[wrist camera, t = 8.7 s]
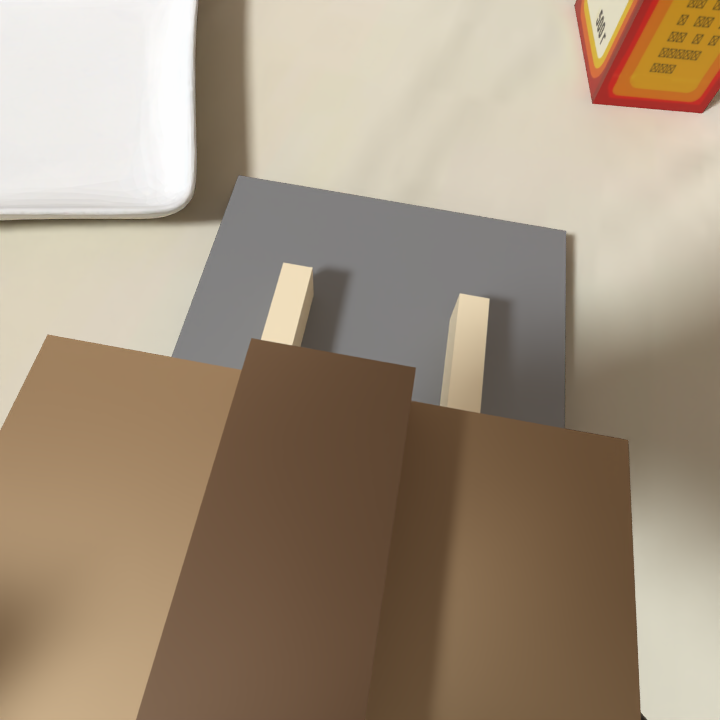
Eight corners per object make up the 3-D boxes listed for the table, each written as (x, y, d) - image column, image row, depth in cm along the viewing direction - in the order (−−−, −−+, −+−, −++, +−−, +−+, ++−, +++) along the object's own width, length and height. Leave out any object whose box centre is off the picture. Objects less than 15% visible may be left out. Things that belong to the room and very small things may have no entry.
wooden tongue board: (387, 749, 12) (756, 1479, 2) (213, 713, 13) (-477, 1178, 2) (408, 583, 14) (669, 413, 3) (253, 553, 14) (9, 294, 3)
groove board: (547, 788, 18) (590, 818, 15) (63, 690, 18) (14, 700, 15) (556, 246, 28) (583, 201, 25) (241, 192, 28) (232, 142, 25)
